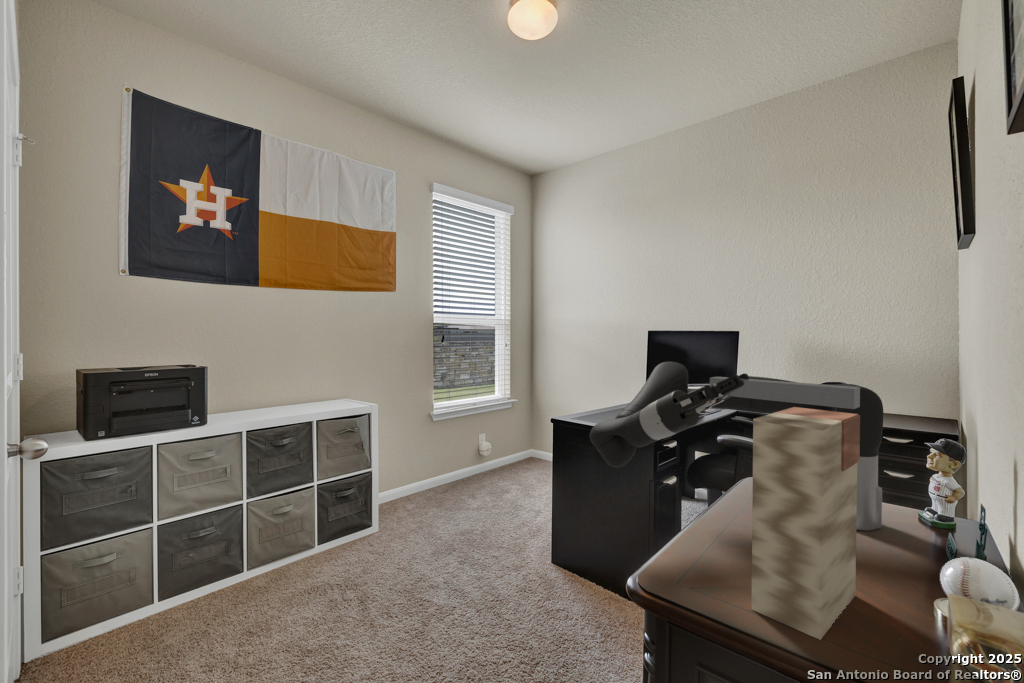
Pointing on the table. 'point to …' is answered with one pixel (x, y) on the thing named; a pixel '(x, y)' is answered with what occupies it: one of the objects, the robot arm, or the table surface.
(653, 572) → the table surface
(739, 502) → the table surface
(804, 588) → the zigzag patterned pillar
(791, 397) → the metal block
